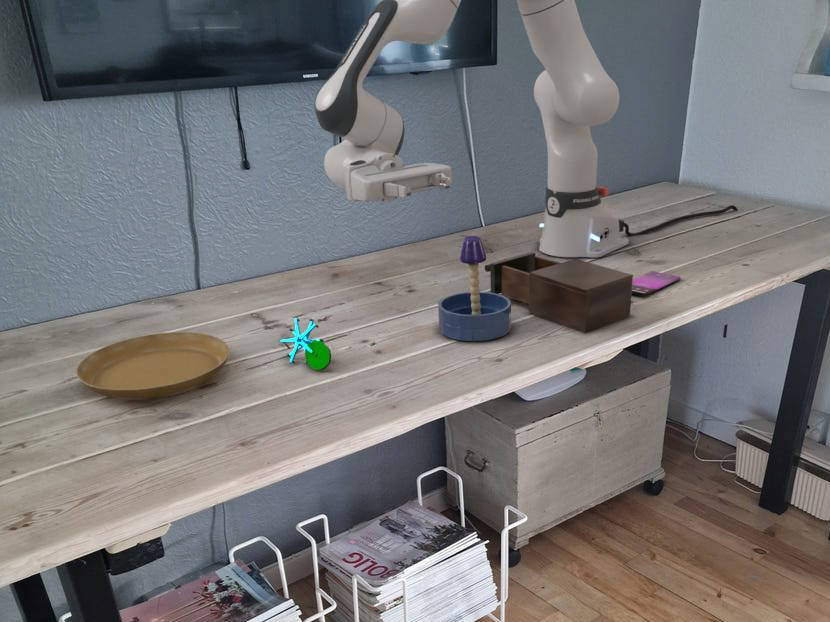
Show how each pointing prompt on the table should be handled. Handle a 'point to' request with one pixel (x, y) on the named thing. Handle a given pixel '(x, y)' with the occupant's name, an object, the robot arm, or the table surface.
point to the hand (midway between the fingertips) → (428, 187)
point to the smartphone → (651, 282)
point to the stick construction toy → (309, 347)
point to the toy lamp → (473, 267)
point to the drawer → (515, 275)
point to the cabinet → (580, 294)
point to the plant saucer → (153, 365)
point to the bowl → (474, 317)
